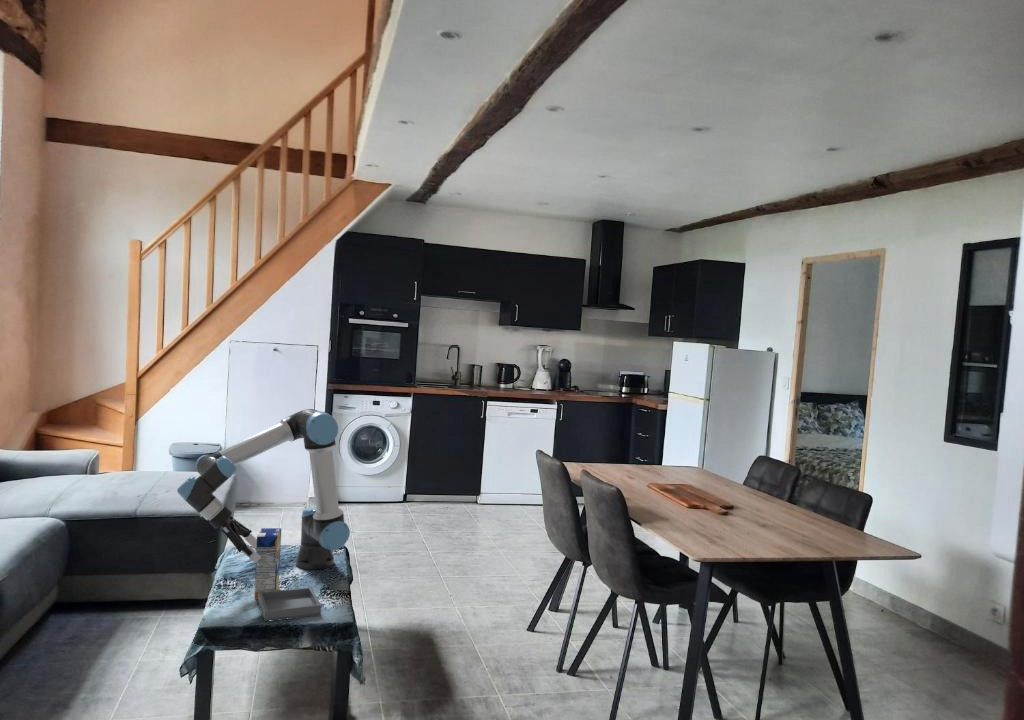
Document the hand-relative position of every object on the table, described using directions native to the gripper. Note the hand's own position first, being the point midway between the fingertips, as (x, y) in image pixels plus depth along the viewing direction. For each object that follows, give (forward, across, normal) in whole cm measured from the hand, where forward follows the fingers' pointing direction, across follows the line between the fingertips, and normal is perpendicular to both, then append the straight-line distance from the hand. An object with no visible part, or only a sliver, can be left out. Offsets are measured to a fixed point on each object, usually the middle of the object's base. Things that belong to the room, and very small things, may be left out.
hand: (259, 554), depth 261 cm
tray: (+18, +16, -2) cm, 24 cm away
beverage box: (+12, 0, -8) cm, 15 cm away
